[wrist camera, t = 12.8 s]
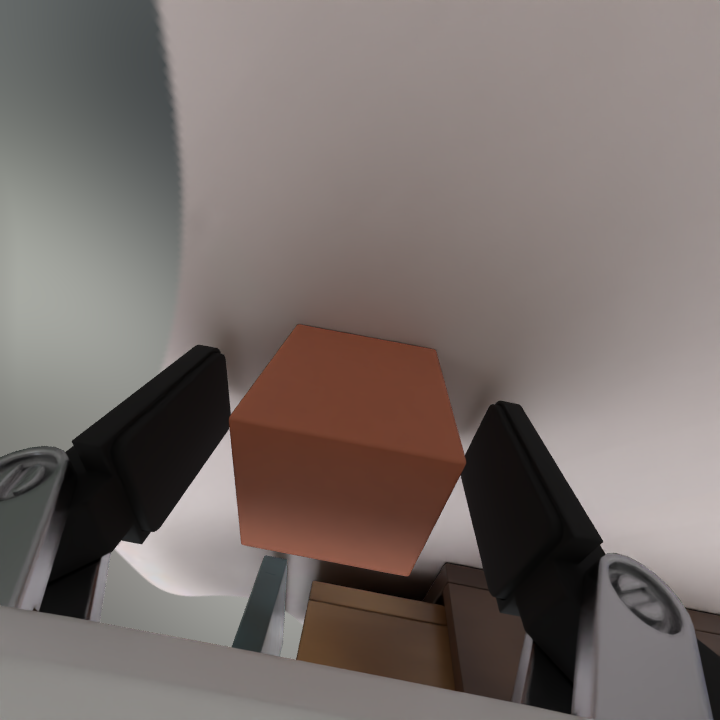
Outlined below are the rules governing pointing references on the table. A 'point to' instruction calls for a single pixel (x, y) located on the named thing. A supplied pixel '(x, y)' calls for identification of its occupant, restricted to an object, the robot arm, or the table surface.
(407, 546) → the block
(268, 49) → the table surface
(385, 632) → the drawer
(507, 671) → the cabinet
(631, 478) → the table surface
